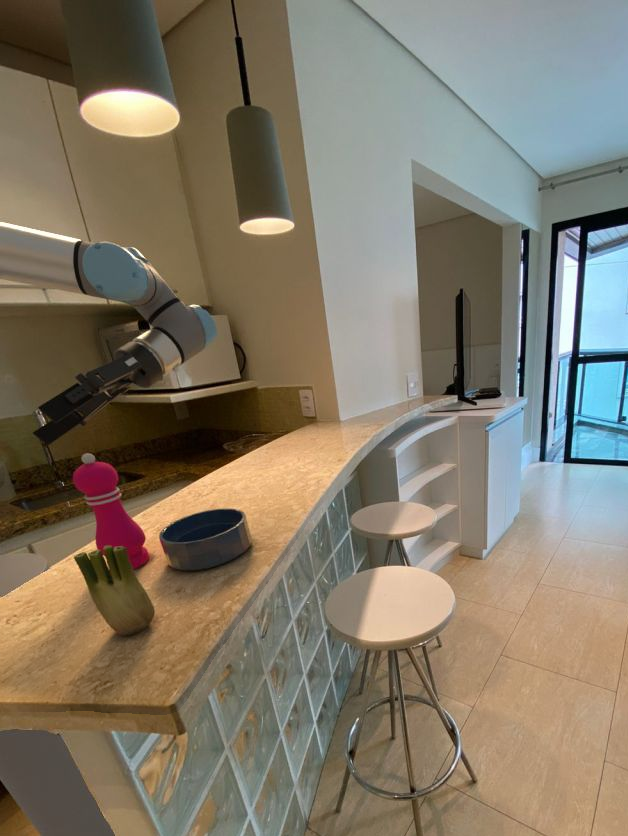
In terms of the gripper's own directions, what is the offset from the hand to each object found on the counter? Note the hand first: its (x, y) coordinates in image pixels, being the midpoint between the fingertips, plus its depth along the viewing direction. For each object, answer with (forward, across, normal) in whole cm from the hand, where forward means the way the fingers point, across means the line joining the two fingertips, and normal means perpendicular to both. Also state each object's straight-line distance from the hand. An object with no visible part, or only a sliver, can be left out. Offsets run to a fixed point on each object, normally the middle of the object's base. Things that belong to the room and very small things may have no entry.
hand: (43, 428), depth 63 cm
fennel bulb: (+16, -17, -28) cm, 36 cm away
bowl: (-1, -6, -31) cm, 32 cm away
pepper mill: (+7, +3, -24) cm, 25 cm away
